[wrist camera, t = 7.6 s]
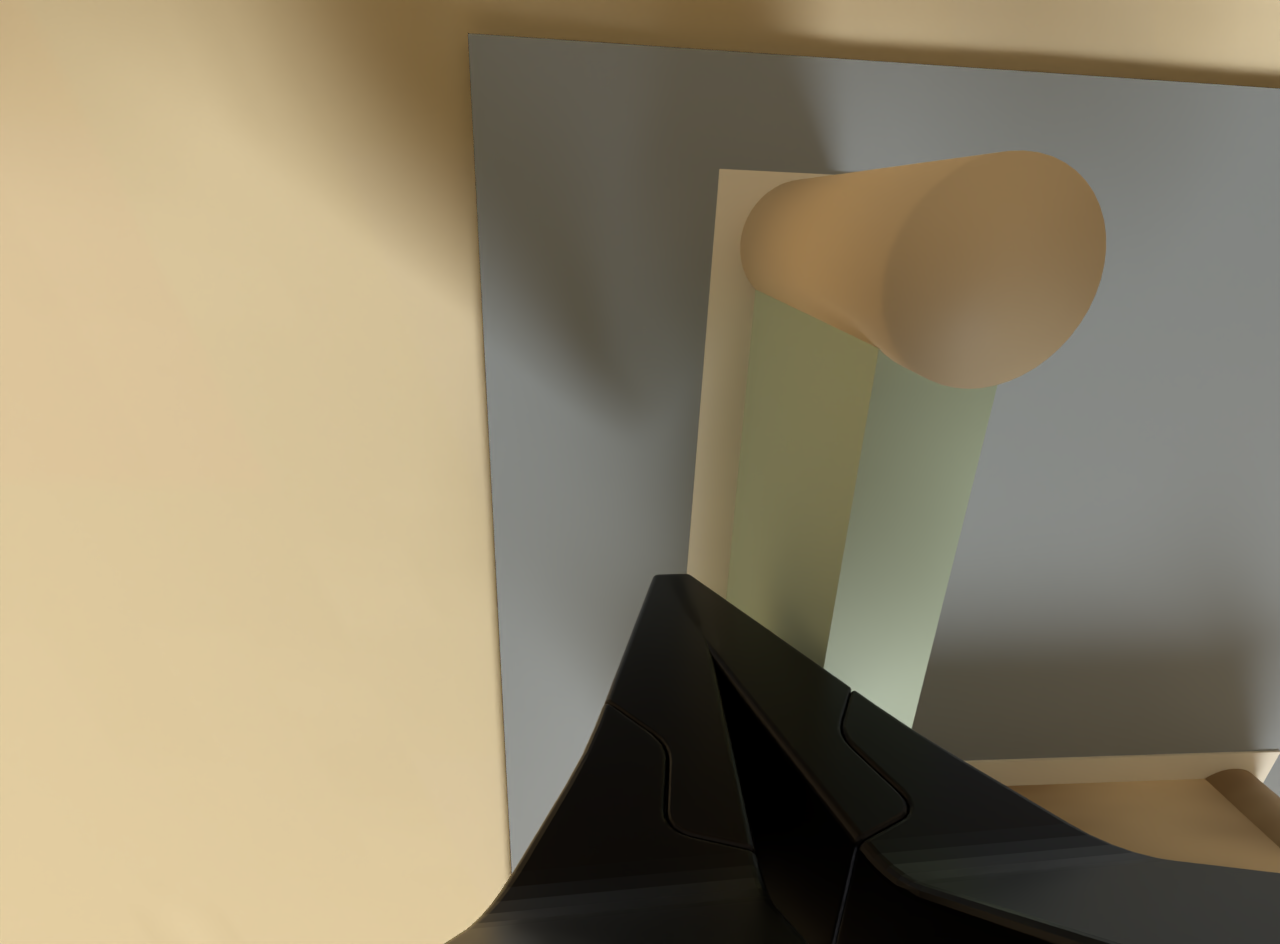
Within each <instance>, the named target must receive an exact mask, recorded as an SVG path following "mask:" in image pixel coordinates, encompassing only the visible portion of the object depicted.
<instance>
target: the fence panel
mask: <svg viewBox="0 0 1280 944" xmlns="http://www.w3.org/2000/svg"><path fill="white" fill-rule="evenodd" d="M740 255H741V262H742V266H743V269H744V272H745V274H746V276H747V278H748V280H749V282H750V283H751V285H752V286H753V287H754V288H755V289H756V290H755V301H754V311H753V322H752V332H751V343H750V353H749V364H748V374H747V385H746V395H745V406H744V416H743V427H742V437H741V448H740V459H739V469H738V480H737V490H736V501H735V511H734V522H733V532H732V543H731V553H730V564H729V574H728V585H727V595H726V600H727V601H728V602H730V603H731V604H733V605H734V606H735V607H737V608H738V609H740V610H741V611H743V612H744V613H745V614H747V615H748V616H750V617H751V618H753V619H754V620H755V621H757V622H758V623H760V624H761V625H763V626H764V627H765V628H767V629H768V630H770V631H771V632H773V633H774V634H775V635H777V636H778V637H780V638H781V639H782V640H784V641H785V642H787V643H788V644H790V645H791V646H792V647H794V648H795V649H797V650H798V651H800V652H801V653H802V654H804V655H805V656H807V657H808V658H810V659H811V660H812V661H814V662H815V663H817V664H818V665H820V666H821V667H822V668H824V669H825V670H827V671H828V672H829V673H831V674H832V675H834V676H835V677H837V678H838V679H839V680H841V681H842V682H844V683H845V684H847V685H848V686H849V687H850V688H851V692H852V691H857V692H858V693H860V694H861V695H863V696H864V697H865V698H867V699H868V700H870V701H871V702H873V703H874V704H875V705H877V706H878V707H880V708H881V709H883V710H884V711H886V712H887V713H889V714H890V715H892V716H893V717H895V718H896V719H898V720H899V721H901V722H902V723H904V724H905V725H907V726H908V727H910V728H911V729H912V725H913V721H914V717H915V713H916V709H917V705H918V701H919V697H920V693H921V689H922V685H923V681H924V677H925V673H926V669H927V665H928V661H929V657H930V653H931V649H932V645H933V641H934V637H935V633H936V629H937V625H938V621H939V617H940V613H941V609H942V605H943V601H944V597H945V593H946V589H947V585H948V581H949V577H950V573H951V569H952V565H953V561H954V557H955V553H956V549H957V545H958V541H959V537H960V533H961V529H962V525H963V521H964V517H965V513H966V509H967V505H968V501H969V497H970V493H971V489H972V485H973V481H974V477H975V473H976V469H977V465H978V461H979V457H980V453H981V449H982V445H983V441H984V437H985V433H986V429H987V425H988V421H989V417H990V413H991V409H992V405H993V401H994V397H995V393H996V389H997V385H999V384H1002V383H1005V382H1008V381H1011V380H1013V379H1015V378H1017V377H1020V376H1022V375H1024V374H1025V373H1027V372H1029V371H1031V370H1032V369H1034V368H1036V367H1037V366H1039V365H1040V364H1041V363H1043V362H1044V361H1045V360H1047V359H1048V358H1049V357H1050V356H1051V355H1053V354H1054V353H1055V352H1056V351H1057V350H1058V349H1059V348H1060V347H1061V346H1062V345H1063V344H1064V343H1065V342H1066V341H1067V340H1068V339H1069V338H1070V336H1071V335H1072V334H1073V332H1074V331H1075V330H1076V328H1077V327H1078V326H1079V324H1080V323H1081V321H1082V320H1083V318H1084V316H1085V315H1086V313H1087V311H1088V310H1089V308H1090V306H1091V303H1092V301H1093V299H1094V297H1095V295H1096V292H1097V289H1098V287H1099V284H1100V281H1101V277H1102V273H1103V268H1104V264H1105V255H1106V230H1105V223H1104V218H1103V214H1102V211H1101V207H1100V205H1099V202H1098V200H1097V198H1096V196H1095V194H1094V192H1093V190H1092V189H1091V187H1090V186H1089V184H1088V183H1087V182H1086V180H1085V179H1084V178H1083V177H1082V176H1081V175H1080V174H1079V173H1078V172H1077V171H1076V170H1075V169H1073V168H1072V167H1071V166H1069V165H1068V164H1066V163H1065V162H1063V161H1061V160H1059V159H1057V158H1055V157H1053V156H1050V155H1046V154H1043V153H1040V152H1033V151H1025V150H1020V151H1004V152H997V153H989V154H982V155H975V156H968V157H960V158H953V159H946V160H938V161H931V162H924V163H916V164H909V165H902V166H895V167H887V168H880V169H873V170H865V171H858V172H851V173H843V174H836V175H829V176H821V177H814V178H807V179H800V180H794V181H789V182H786V183H783V184H781V185H779V186H777V187H775V188H774V189H772V190H771V191H769V192H768V193H767V194H765V195H764V196H763V197H762V198H761V199H760V200H759V201H758V202H757V203H756V205H755V206H754V208H753V209H752V210H751V212H750V214H749V216H748V218H747V220H746V222H745V225H744V228H743V231H742V235H741V242H740Z"/></svg>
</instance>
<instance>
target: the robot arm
mask: <svg viewBox="0 0 1280 944" xmlns="http://www.w3.org/2000/svg"><path fill="white" fill-rule="evenodd" d="M445 944H1280V873H1275V872H1266V871H1258V870H1249V869H1241V868H1233V867H1224V866H1216V865H1207V864H1199V863H1190V862H1182V861H1174V860H1167V859H1161V858H1156V857H1152V856H1148V855H1144V854H1140V853H1136V852H1133V851H1130V850H1127V849H1124V848H1121V847H1118V846H1115V845H1112V844H1110V843H1108V842H1105V841H1103V840H1101V839H1099V838H1096V837H1094V836H1092V835H1090V834H1088V833H1086V832H1084V831H1082V830H1081V829H1079V828H1077V827H1075V826H1073V825H1071V824H1070V823H1068V822H1066V821H1064V820H1063V819H1061V818H1059V817H1058V816H1056V815H1054V814H1053V813H1051V812H1049V811H1048V810H1046V809H1044V808H1042V807H1041V806H1039V805H1037V804H1036V803H1034V802H1032V801H1031V800H1029V799H1027V798H1026V797H1024V796H1022V795H1021V794H1019V793H1017V792H1015V791H1014V790H1012V789H1010V788H1009V787H1007V786H1005V785H1004V784H1002V783H1000V782H999V781H997V780H995V779H993V778H992V777H990V776H988V775H987V774H985V773H983V772H982V771H980V770H978V769H977V768H975V767H973V766H972V765H970V764H968V763H966V762H965V761H963V760H961V759H960V758H958V757H956V756H955V755H953V754H951V753H950V752H948V751H947V750H945V749H943V748H942V747H940V746H938V745H937V744H935V743H934V742H932V741H930V740H929V739H927V738H925V737H924V736H922V735H921V734H919V733H917V732H916V731H914V730H913V729H911V728H910V727H908V726H907V725H905V724H904V723H902V722H901V721H899V720H898V719H896V718H895V717H893V716H892V715H890V714H889V713H887V712H886V711H884V710H883V709H881V708H880V707H878V706H877V705H875V704H874V703H873V702H871V701H870V700H868V699H867V698H865V697H864V696H863V695H861V694H860V693H858V692H857V691H852V692H851V688H850V687H849V686H848V685H847V684H845V683H844V682H842V681H841V680H839V679H838V678H837V677H835V676H834V675H832V674H831V673H829V672H828V671H827V670H825V669H824V668H822V667H821V666H820V665H818V664H817V663H815V662H814V661H812V660H811V659H810V658H808V657H807V656H805V655H804V654H802V653H801V652H800V651H798V650H797V649H795V648H794V647H792V646H791V645H790V644H788V643H787V642H785V641H784V640H782V639H781V638H780V637H778V636H777V635H775V634H774V633H773V632H771V631H770V630H768V629H767V628H765V627H764V626H763V625H761V624H760V623H758V622H757V621H755V620H754V619H753V618H751V617H750V616H748V615H747V614H745V613H744V612H743V611H741V610H740V609H738V608H737V607H735V606H734V605H733V604H731V603H730V602H728V601H727V600H726V599H724V598H723V597H721V596H720V595H718V594H717V593H716V592H714V591H713V590H711V589H710V588H708V587H707V586H706V585H704V584H703V583H701V582H700V581H698V580H697V579H696V578H694V577H693V576H691V575H689V574H657V575H655V576H654V577H653V578H652V581H651V584H650V586H649V589H648V591H647V594H646V597H645V599H644V602H643V604H642V607H641V609H640V612H639V615H638V617H637V620H636V622H635V625H634V628H633V630H632V633H631V635H630V638H629V641H628V643H627V646H626V648H625V651H624V654H623V656H622V659H621V661H620V664H619V666H618V669H617V672H616V674H615V677H614V679H613V682H612V685H611V687H610V690H609V692H608V695H607V698H606V700H605V703H604V706H603V707H602V710H601V712H600V715H599V717H598V720H597V722H596V725H595V727H594V730H593V732H592V734H591V736H590V739H589V741H588V743H587V745H586V748H585V750H584V752H583V754H582V756H581V758H580V760H579V762H578V763H577V765H576V767H575V769H574V771H573V772H572V774H571V776H570V778H569V780H568V782H567V783H566V785H565V787H564V789H563V790H562V792H561V794H560V795H559V797H558V799H557V800H556V802H555V803H554V805H553V807H552V808H551V810H550V812H549V813H548V815H547V817H546V818H545V820H544V822H543V823H542V825H541V827H540V828H539V830H538V832H537V833H536V835H535V837H534V838H533V840H532V842H531V843H530V845H529V846H528V848H527V850H526V851H525V853H524V855H523V856H522V858H521V860H520V861H519V863H518V865H517V866H516V868H515V870H514V871H513V873H512V874H511V876H510V878H509V879H508V881H507V882H506V884H505V885H504V887H503V889H502V890H501V892H500V893H499V894H498V896H497V897H496V898H495V900H494V901H493V903H492V904H491V905H490V906H489V908H488V909H487V910H486V911H485V912H484V913H483V914H482V916H481V917H480V918H479V919H478V920H477V921H475V922H474V923H473V924H472V925H471V926H470V927H469V928H468V929H466V930H465V931H463V932H462V933H460V934H459V935H457V936H456V937H454V938H452V939H451V940H449V941H448V942H446V943H445Z"/></svg>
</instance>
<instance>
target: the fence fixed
mask: <svg viewBox="0 0 1280 944" xmlns="http://www.w3.org/2000/svg"><path fill="white" fill-rule="evenodd" d="M1007 787H1009V788H1010V789H1012V790H1014V791H1015V792H1017V793H1019V794H1021V795H1022V796H1024V797H1026V798H1027V799H1029V800H1031V801H1032V802H1034V803H1036V804H1037V805H1039V806H1041V807H1042V808H1044V809H1046V810H1048V811H1049V812H1051V813H1053V814H1054V815H1056V816H1058V817H1059V818H1061V819H1063V820H1064V821H1066V822H1068V823H1070V824H1071V825H1073V826H1075V827H1077V828H1079V829H1081V830H1082V831H1084V832H1086V833H1088V834H1090V835H1092V836H1094V837H1096V838H1099V839H1101V840H1103V841H1105V842H1108V843H1110V844H1112V845H1115V846H1118V847H1121V848H1124V849H1127V850H1130V851H1133V852H1136V853H1140V854H1144V855H1148V856H1152V857H1156V858H1161V859H1167V860H1174V861H1182V862H1190V863H1199V864H1207V865H1216V866H1224V867H1233V868H1241V869H1249V870H1258V871H1266V872H1275V873H1280V797H1279V796H1278V795H1277V794H1275V793H1274V792H1273V791H1272V790H1271V789H1269V788H1268V787H1267V786H1266V785H1265V784H1264V783H1262V782H1261V781H1260V780H1259V779H1258V778H1257V777H1255V776H1254V775H1253V774H1252V773H1250V772H1249V771H1247V770H1243V769H1228V770H1223V771H1220V772H1217V773H1215V774H1213V775H1210V776H1209V777H1207V778H1205V779H1184V780H1156V781H1129V782H1102V783H1074V784H1047V785H1020V786H1007Z"/></svg>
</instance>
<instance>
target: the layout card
mask: <svg viewBox="0 0 1280 944" xmlns="http://www.w3.org/2000/svg"><path fill="white" fill-rule="evenodd" d="M468 44H469V63H470V82H471V101H472V121H473V140H474V159H475V178H476V197H477V216H478V236H479V255H480V274H481V293H482V312H483V331H484V350H485V370H486V389H487V408H488V427H489V446H490V465H491V485H492V504H493V523H494V542H495V561H496V580H497V599H498V619H499V638H500V657H501V676H502V695H503V714H504V734H505V753H506V772H507V791H508V810H509V829H510V848H511V868H512V873H513V871H514V870H515V868H516V866H517V865H518V863H519V861H520V860H521V858H522V856H523V855H524V853H525V851H526V850H527V848H528V846H529V845H530V843H531V842H532V840H533V838H534V837H535V835H536V833H537V832H538V830H539V828H540V827H541V825H542V823H543V822H544V820H545V818H546V817H547V815H548V813H549V812H550V810H551V808H552V807H553V805H554V803H555V802H556V800H557V799H558V797H559V795H560V794H561V792H562V790H563V789H564V787H565V785H566V783H567V782H568V780H569V778H570V776H571V774H572V772H573V771H574V769H575V767H576V765H577V763H578V762H579V760H580V758H581V756H582V754H583V752H584V750H585V748H586V745H587V743H588V741H589V739H590V736H591V734H592V732H593V730H594V727H595V725H596V722H597V720H598V717H599V715H600V712H601V710H602V707H603V706H604V703H605V700H606V698H607V695H608V692H609V690H610V687H611V685H612V682H613V679H614V677H615V674H616V672H617V669H618V666H619V664H620V661H621V659H622V656H623V654H624V651H625V648H626V646H627V643H628V641H629V638H630V635H631V633H632V630H633V628H634V625H635V622H636V620H637V617H638V615H639V612H640V609H641V607H642V604H643V602H644V599H645V597H646V594H647V591H648V589H649V586H650V584H651V581H652V578H653V577H654V576H655V575H657V574H689V575H691V576H693V577H694V578H696V579H697V580H698V581H700V582H701V583H703V584H704V585H706V586H707V587H708V588H710V589H711V590H713V591H714V592H716V593H717V594H718V595H720V596H721V597H723V598H724V599H726V595H727V585H728V574H729V564H730V553H731V543H732V532H733V522H734V511H735V501H736V490H737V480H738V469H739V459H740V448H741V437H742V427H743V416H744V406H745V395H746V385H747V374H748V364H749V353H750V343H751V332H752V322H753V311H754V301H755V290H756V289H755V288H754V287H753V286H752V285H751V283H750V282H749V280H748V278H747V276H746V274H745V272H744V269H743V266H742V262H741V255H740V242H741V235H742V231H743V228H744V225H745V222H746V220H747V218H748V216H749V214H750V212H751V210H752V209H753V208H754V206H755V205H756V203H757V202H758V201H759V200H760V199H761V198H762V197H763V196H764V195H765V194H767V193H768V192H769V191H771V190H772V189H774V188H775V187H777V186H779V185H781V184H783V183H786V182H789V181H794V180H800V179H807V178H814V177H821V176H829V175H836V174H843V173H851V172H858V171H865V170H873V169H880V168H887V167H895V166H902V165H909V164H916V163H924V162H931V161H938V160H946V159H953V158H960V157H968V156H975V155H982V154H989V153H997V152H1004V151H1020V150H1025V151H1033V152H1040V153H1043V154H1046V155H1050V156H1053V157H1055V158H1057V159H1059V160H1061V161H1063V162H1065V163H1066V164H1068V165H1069V166H1071V167H1072V168H1073V169H1075V170H1076V171H1077V172H1078V173H1079V174H1080V175H1081V176H1082V177H1083V178H1084V179H1085V180H1086V182H1087V183H1088V184H1089V186H1090V187H1091V189H1092V190H1093V192H1094V194H1095V196H1096V198H1097V200H1098V202H1099V205H1100V207H1101V211H1102V214H1103V218H1104V223H1105V230H1106V255H1105V264H1104V268H1103V273H1102V277H1101V281H1100V284H1099V287H1098V289H1097V292H1096V295H1095V297H1094V299H1093V301H1092V303H1091V306H1090V308H1089V310H1088V311H1087V313H1086V315H1085V316H1084V318H1083V320H1082V321H1081V323H1080V324H1079V326H1078V327H1077V328H1076V330H1075V331H1074V332H1073V334H1072V335H1071V336H1070V338H1069V339H1068V340H1067V341H1066V342H1065V343H1064V344H1063V345H1062V346H1061V347H1060V348H1059V349H1058V350H1057V351H1056V352H1055V353H1054V354H1053V355H1051V356H1050V357H1049V358H1048V359H1047V360H1045V361H1044V362H1043V363H1041V364H1040V365H1039V366H1037V367H1036V368H1034V369H1032V370H1031V371H1029V372H1027V373H1025V374H1024V375H1022V376H1020V377H1017V378H1015V379H1013V380H1011V381H1008V382H1005V383H1002V384H999V385H997V389H996V393H995V397H994V401H993V405H992V409H991V413H990V417H989V421H988V425H987V429H986V433H985V437H984V441H983V445H982V449H981V453H980V457H979V461H978V465H977V469H976V473H975V477H974V481H973V485H972V489H971V493H970V497H969V501H968V505H967V509H966V513H965V517H964V521H963V525H962V529H961V533H960V537H959V541H958V545H957V549H956V553H955V557H954V561H953V565H952V569H951V573H950V577H949V581H948V585H947V589H946V593H945V597H944V601H943V605H942V609H941V613H940V617H939V621H938V625H937V629H936V633H935V637H934V641H933V645H932V649H931V653H930V657H929V661H928V665H927V669H926V673H925V677H924V681H923V685H922V689H921V693H920V697H919V701H918V705H917V709H916V713H915V717H914V721H913V725H912V729H913V730H914V731H916V732H917V733H919V734H921V735H922V736H924V737H925V738H927V739H929V740H930V741H932V742H934V743H935V744H937V745H938V746H940V747H942V748H943V749H945V750H947V751H948V752H950V753H951V754H953V755H955V756H956V757H958V758H960V759H961V760H963V761H965V762H966V763H968V764H970V765H972V766H973V767H975V768H977V769H978V770H980V771H982V772H983V773H985V774H987V775H988V776H990V777H992V778H993V779H995V780H997V781H999V782H1000V783H1002V784H1004V785H1005V786H1020V785H1047V784H1074V783H1102V782H1129V781H1156V780H1184V779H1205V778H1207V777H1209V776H1210V775H1213V774H1215V773H1217V772H1220V771H1223V770H1228V769H1243V770H1247V771H1249V772H1250V773H1252V774H1253V775H1254V776H1255V777H1257V778H1258V779H1259V780H1260V781H1261V782H1262V783H1264V784H1265V785H1266V786H1267V787H1268V788H1269V789H1271V790H1272V791H1273V792H1274V793H1275V794H1277V795H1278V796H1279V797H1280V89H1278V88H1263V87H1249V86H1234V85H1219V84H1205V83H1190V82H1175V81H1161V80H1146V79H1131V78H1116V77H1102V76H1087V75H1072V74H1058V73H1043V72H1028V71H1013V70H999V69H984V68H969V67H955V66H940V65H925V64H911V63H896V62H881V61H866V60H852V59H837V58H822V57H808V56H793V55H778V54H764V53H749V52H734V51H719V50H705V49H690V48H675V47H661V46H646V45H631V44H616V43H602V42H587V41H572V40H558V39H543V38H528V37H514V36H499V35H484V34H469V33H468Z"/></svg>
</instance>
